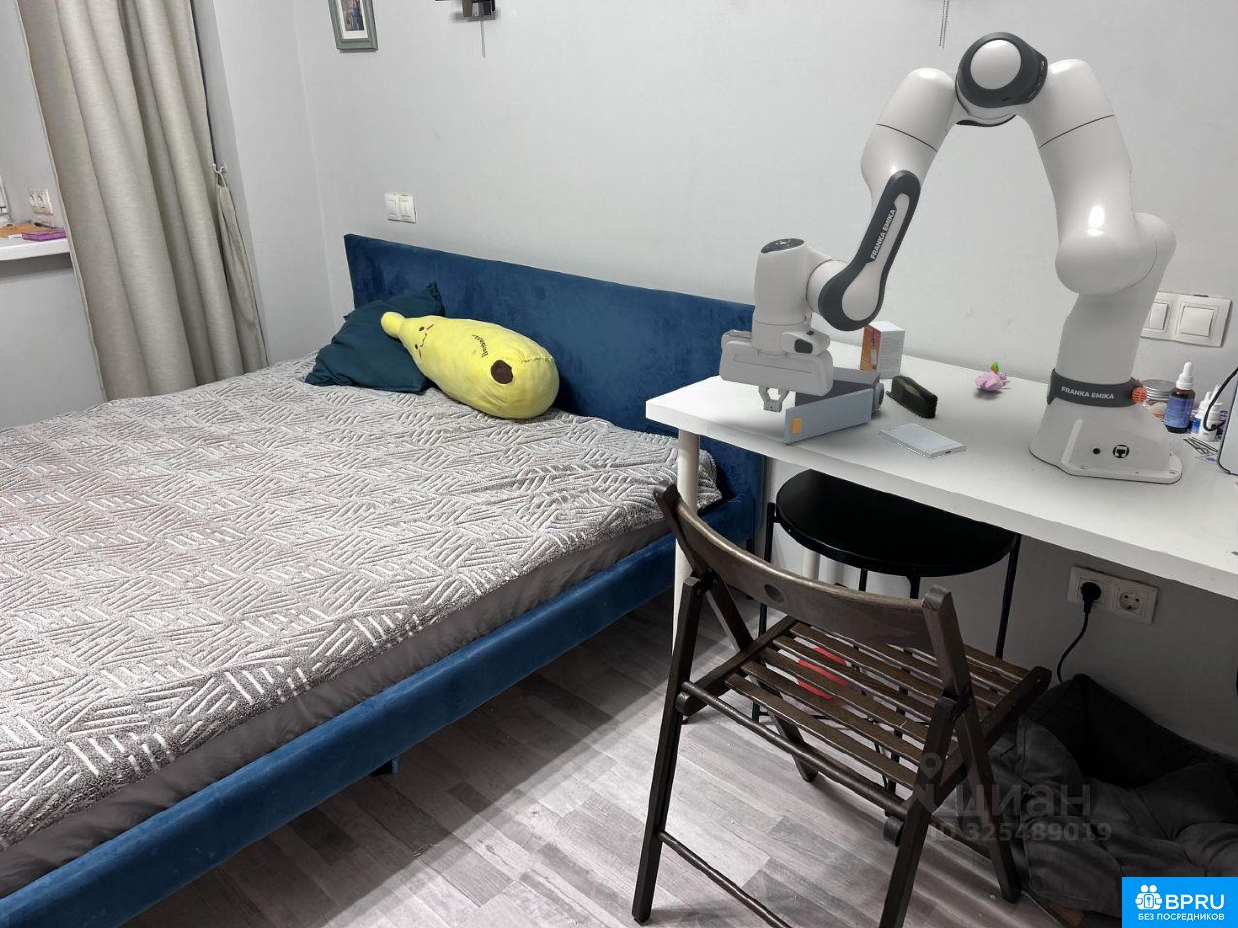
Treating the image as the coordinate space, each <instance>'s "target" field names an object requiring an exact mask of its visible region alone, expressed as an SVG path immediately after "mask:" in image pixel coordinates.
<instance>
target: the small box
mask: <svg viewBox="0 0 1238 928" xmlns="http://www.w3.org/2000/svg"><path fill="white" fill-rule="evenodd" d="M862 334H863V335H862V343H861V344H862V345H861V353H860V354H861V355H860V361H859V362H860V363H859V369H860V370H865V371H873V372H881V373H880V380H881V379H882V380H884V379H893V378H894V377H895V376H901V375H900V373H901V368H902V358H903V353H904V352H903V350H904V344H905V343H904V342H905V336H906V330H905V329H904V328H901V327H900V326H898V325H896V324H895V323H892V322H891V321H889V320H883V321H882V320H880V321H879V320H878V321H872V322H871V323H870V324H868V325H867V326H865V327H863V333H862Z"/></svg>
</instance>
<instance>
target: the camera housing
mask: <svg viewBox="0 0 1238 928" xmlns="http://www.w3.org/2000/svg"><path fill="white" fill-rule="evenodd" d="M880 373H881V372H873V371H865V370H862V369H857V368H848V367H847V368H846V367H839V366H833V386H832V388H831V390H830V391H829V392H828V393H826V394H825V395H824V396H818V395H811V394H805V393H799V392H794V393H795V395H794V406H793V407H796V406H800V405H804V404H808V403H812V402H816V401H820V400H824V399H829V398H833V397H837V396H841V395H845V394H849V393H853V392H857V391H861V390H865V389H873V390H874V393H873V402H872V411H871V416H872V415H873V413H874V412H875V410H876V411H877V410H878V411H879V410H880V409H881V406H882V405H883V402H884V399H885V398H884V397H885V387H884V385H885V384H884V383H883V382H880V381H881V379H880Z"/></svg>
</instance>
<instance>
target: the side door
mask: <svg viewBox="0 0 1238 928" xmlns="http://www.w3.org/2000/svg"><path fill="white" fill-rule="evenodd" d="M873 393H874V390H873V389H865V390H861V391H857V392H853V393H849V394H845V395H841V396H837V397H833V398H829V399H824V400H820V401H816V402H812V403H808V404H804V405H800V406H796V407H794V406H792V407H789V408H785V417H784V418H785V419H784V431H783V434H784V435H783V442H784V443H786V444H789V443H793V442H797V441H800V440H804V439H808V438H811V437H815V436H819V435H823V434H826V433H830V432H831V433H832V432H834V431H839V430H841V429H846V428H849V427H853V426H857V425H861V424H865V423H867V422H871V419H872V415H871V411H872V402H873Z"/></svg>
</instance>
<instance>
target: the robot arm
mask: <svg viewBox="0 0 1238 928" xmlns="http://www.w3.org/2000/svg"><path fill="white" fill-rule="evenodd" d="M1048 63H1049V62H1048V59H1047V57H1046V56H1045V55H1044V54H1042V53H1041V51H1038V50H1037V49H1036V48H1034V47H1033V46H1031V45H1030V44H1029V43H1028V42H1027V41H1026V40H1024V39H1023V38H1021V37H1020V36H1017V35H1016V34H1014V33H1010V32H1006V31H996V32H991V33H989V34H986V35H984V36H982V37H980V38H978V39H977V40H975V41H974V42H973V43H972V44H971V45H970V46H969V47H968V48H967V50H965V52H964V53H963V54H962V57H961V59H960V62H959V64H958V67H957V69H955V70H954V71H943V70H941V69H938V68H934V67H921V68H916V69H914V70H912V71H911V72H909V73H908V74H907V75H906V76H905V77H904V79H903V80H902V82H901V83H900V84H899V85H898V87H897V88H896V89H895V91H894V93H893V94H892V95H891V97H890V98H889V100H888V102H887V103H886V105H885V106H884V108H883V110H882V111H881V113H880V114H879V117H878V119H877V121H876V123H875V125H874V126H873V128H872V130H871V132H870V134H869V137H868V138H867V141H866V143H865V145H864V149H863V152H862V156H861V160H860V162H859V163H860V164H859V165H860V171H861V175H862V177H863V181H864V182H865V184H866V186H867V187H868V189H869V193H870V197H871V209H870V213H869V216H868V219H867V222H866V224H865V226H864V227H863V228H864V229H863V231H862V234H861V235H860V239H859V240H858V242H857V244H856V247H855V250H854V252H853V255H852V257H851V258H850V260H848V262H847V261H845V260H842V259H841V258H838V257H835V256H833V255H829V254H827V253H824V252H821V251H819V250H818V249H815V248H813V247H812V246H810V245H809V244H808V243H806V242H805V240H803V239H800V238H780V239H777V240H773V241H770V242H769V243H767V244H765V245H764V246H763V247H762V248H761V250H760V251H759V254H758V257H757V262H756V265H755V266H756V267H755V276H754V285H753V287H754V288H753V295H754V301H755V308H754V311H753V313H752V325H751V331H749V330H738V329H730V330H729V331H726V332H724V333H723V334H722V336H721V341H720V342H721V343H720V344H721V345H720V346H721V350H722V352H721V358H720V361H719V362H720V363H719V370H718V374H719V377H720V378H721V379H722V381H723V382H724V381H725V382H731V383H736V384H737V383H738V384H745V385H751V386H757V387H758V388H757V389H758V391H757V392H758V394H759V395H760V397H761V399H762V402H763V410H764V411H769V412H773V413H779V414H780V412H782V410H783V403H784V401H785V400H786V398H787V397H788V395H789V394H790V392H794V393H795V392H799V393H805V394H811V395H818V396H824V395H825V394H826V393H828V392H829V391H830V390H831V388H832V386H833V367H834V359H833V355H832V354H831V352H830V351H829V350H828V348H829V347H830V345H831V336H830V335H829V334H827V333H824V332H822V331H820V330H818V329H815V328H813V327H812V326H811V327H809V326H807V325H806V324H804V319H805V315H806V314H807V313H811V312H812V313H815V314H817V315H818V316H821V318H822V319H824V320H825V321H826V322H827V324H829V325H830V327H832V328H833V329H835V330H838V331H841V332H855V331H858V330H861V329H864V327H865V326H867V325H868V324H870V323H871V322H874V320H875V319H876V318H877V316H879V313H880V311H881V309H882V307H883V303H884V300H885V292H886V287H887V286H886V285H887V280H888V278H889V274H890V272H891V271H890V270H891V269H892V266H893V264H894V261H895V260H896V256H897V255H898V252H899V250H900V247H901V245H902V242H903V241H904V238H905V236H906V233H907V232H908V229H909V227H910V224H911V223H912V221H913V220H912V219H913V217H914V215H915V212H916V210H917V207H918V204H919V200H920V196H921V192H922V187H923V184H924V182H925V179H926V177H927V176H928V173H929V170H930V168H931V166H932V164H933V162H934V160H935V158H936V156H937V155H938V153H939V151H940V149H941V147H942V144H943V142H945V139H946V137H947V136H948V134H949V133H950V131H951V130H952V128H953V127H954V126H955V125H958V126H967V127H968V126H970V127H979V128H995V127H999V126H1003V125H1004V124H1007V123H1008V122H1010V121H1011V120H1013V119H1014V118H1016V116H1018V117H1020V118H1021V119H1023V120H1024V121H1025V122H1026V123H1027V125H1028V126H1029V128H1030V130H1031V133H1032V134H1033V138H1034V141H1035V145H1036V147H1037V150H1038V153H1039V157H1040V159H1041V162H1042V165H1043V168H1044V171H1045V174H1046V178H1047V180H1048V183H1049V186H1050V189H1051V192H1052V197H1053V201H1054V207H1055V216H1056V225H1057V237H1058V249H1057V252H1056V255H1055V260H1054V267H1055V272H1056V275H1057V278H1058V280H1059V281H1060V282H1061V284H1062V285H1063V286H1064V287H1065V288H1066V289H1068V290H1069V291H1071V292H1073V293H1075V294H1078V295H1077V298H1076V300H1075V303H1074V305H1073V307H1072V309H1071V310H1070V312H1069V314H1068V315H1067V317H1066V319H1065V321H1064V323H1063V326H1062V331H1061V337H1060V342H1059V346H1058V353H1057V358H1056V363H1055V367H1054V368H1052V371H1051V372H1050V373H1051V375H1050V376H1049V380H1048V384H1047V390H1046V396H1045V398H1046V406H1045V410H1044V413H1043V417H1042V419H1041V420H1040V421H1041V422H1040V423H1039V427H1038V430H1037V431H1036V433H1035V435H1034V438H1033V440H1031V443H1030V445H1029V450H1030V452H1031V454H1033V455H1034V456H1035V457H1037V458H1038V459H1040V460H1042V461H1044V462H1046V463H1049V464H1051V465H1054V466H1056V467H1058V468H1060V469H1061V470H1062V471H1064V472H1066V473H1067V474H1069V475H1070V474H1071V475H1075V476H1084V477H1092V478H1093V477H1096V478H1107V479H1115V480H1116V479H1117V480H1126V481H1127V480H1129V481H1139V482H1150V483H1159V484H1160V483H1161V484H1173V483H1175V482H1176V481H1178V480H1179V479H1180V478H1181V476H1182V474H1183V473H1182V472H1183V464H1182V461H1181V459H1180V457H1179V455H1177V454H1176V453H1174V452H1173V451H1171V438H1170V437H1171V436H1170V434H1169V430H1168V428H1167V426H1166V424H1164V422H1162V421H1161V419H1160V418H1158V417H1157V416H1156V415H1155V414H1154V413H1152V411H1151V410H1149V409H1148V408H1147V407H1146V406H1145V405H1143V404H1142V403H1144V402H1145V401H1146V400H1147V398H1148V393H1147V390H1146V388H1144V385H1143V384H1142V382H1141V380H1140V379H1139V378H1137V379H1136V378H1134V377H1133V376H1132V375H1133V374H1132V373H1133V370H1134V367H1135V366H1134V365H1135V363H1136V362H1135V361H1136V357H1137V354H1138V353H1137V352H1138V349H1139V344H1140V339H1141V335H1142V333H1143V330H1144V329H1143V328H1144V326H1145V324H1146V321H1147V318H1148V316H1149V313H1150V311H1151V308H1152V307H1153V304H1154V302H1155V298H1156V296H1157V294H1158V291H1159V289H1160V286H1161V283H1162V282H1163V281H1162V280H1163V277H1164V274H1165V272H1166V269H1167V267H1168V266H1169V264H1170V261H1171V260H1172V259H1173V256H1174V254H1175V251H1176V248H1177V238H1176V232H1175V230H1174V229H1173V227H1172V226H1171V225H1170V223H1169V222H1167V221H1166V220H1165V219H1163V217H1162V218H1161V217H1160V216H1157V215H1154V214H1150V213H1147V212H1139V211H1138V212H1134V207H1133V202H1132V201H1133V200H1132V199H1133V198H1132V192H1131V191H1132V190H1131V175H1132V171H1133V165H1132V161H1131V158H1130V156H1129V153H1128V150H1127V146H1126V144H1125V140H1124V137H1123V133H1122V132H1121V128H1120V125H1119V123H1118V119H1117V117H1116V115H1115V111H1114V110H1113V109H1114V108H1113V106H1112V104H1111V102H1110V100H1109V98H1108V95H1107V92H1106V90H1105V88H1104V86H1103V84H1102V83H1101V82H1100V79H1099V78H1098V75H1097V74H1096V73H1095V71H1094V70H1093V68H1092V67H1091V65H1090V64H1089V63H1088V62H1086V61H1084V60H1083V59H1079V58H1067V59H1062V60H1057V61H1055V62H1053V63H1051V64H1048ZM770 389H775V390H777V394H778V396H779V398H778V399H773V398H771V396H770V393H769V391H770Z"/></svg>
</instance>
